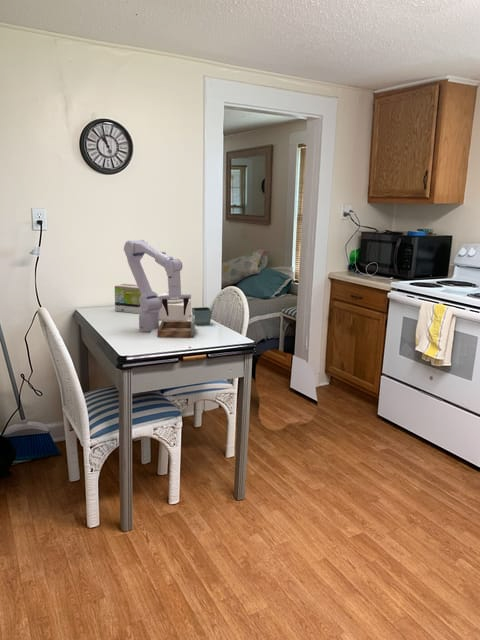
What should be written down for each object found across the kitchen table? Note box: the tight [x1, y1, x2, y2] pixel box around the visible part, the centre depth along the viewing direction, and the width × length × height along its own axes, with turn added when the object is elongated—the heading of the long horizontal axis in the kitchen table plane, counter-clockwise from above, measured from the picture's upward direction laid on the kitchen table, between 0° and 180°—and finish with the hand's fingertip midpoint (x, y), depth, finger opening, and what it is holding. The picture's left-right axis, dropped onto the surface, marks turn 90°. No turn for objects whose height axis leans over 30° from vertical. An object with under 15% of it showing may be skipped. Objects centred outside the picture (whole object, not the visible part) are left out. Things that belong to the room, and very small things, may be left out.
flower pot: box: [191, 306, 213, 326], centre depth 254 cm, size 9×9×9 cm
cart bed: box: [156, 320, 196, 339], centre depth 235 cm, size 16×20×4 cm
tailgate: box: [191, 314, 196, 336], centre depth 235 cm, size 2×17×6 cm, turn 3°
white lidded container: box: [157, 289, 192, 321], centre depth 272 cm, size 18×18×16 cm
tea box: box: [114, 283, 143, 314], centre depth 286 cm, size 15×10×15 cm, turn 73°
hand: (176, 315), depth 234 cm, fingers open, 7 cm apart
